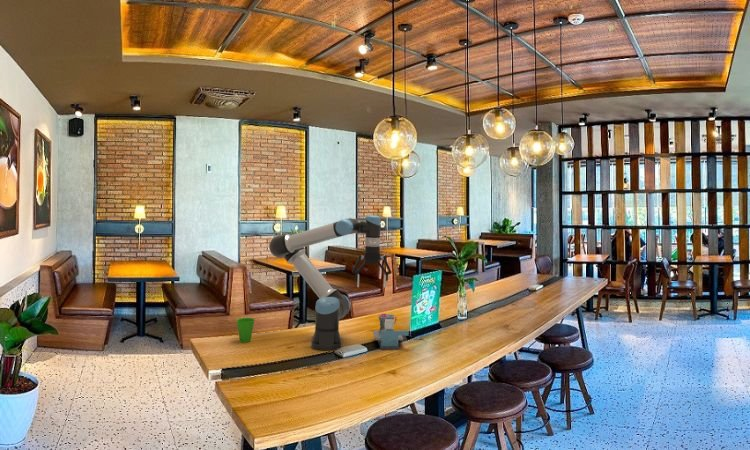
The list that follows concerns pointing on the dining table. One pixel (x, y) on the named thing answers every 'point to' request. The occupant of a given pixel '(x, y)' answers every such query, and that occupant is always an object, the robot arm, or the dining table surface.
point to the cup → (245, 329)
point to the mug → (382, 319)
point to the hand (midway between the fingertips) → (371, 287)
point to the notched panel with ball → (389, 338)
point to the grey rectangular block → (389, 324)
